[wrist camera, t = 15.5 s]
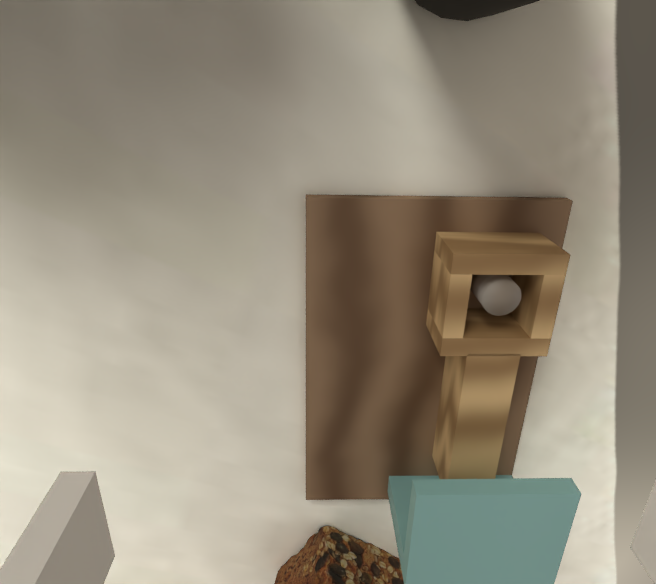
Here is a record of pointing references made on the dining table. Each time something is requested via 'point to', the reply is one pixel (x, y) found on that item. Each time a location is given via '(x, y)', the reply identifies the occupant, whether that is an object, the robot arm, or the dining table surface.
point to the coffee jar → (470, 7)
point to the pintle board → (394, 331)
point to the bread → (340, 562)
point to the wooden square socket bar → (486, 339)
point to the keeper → (481, 528)
